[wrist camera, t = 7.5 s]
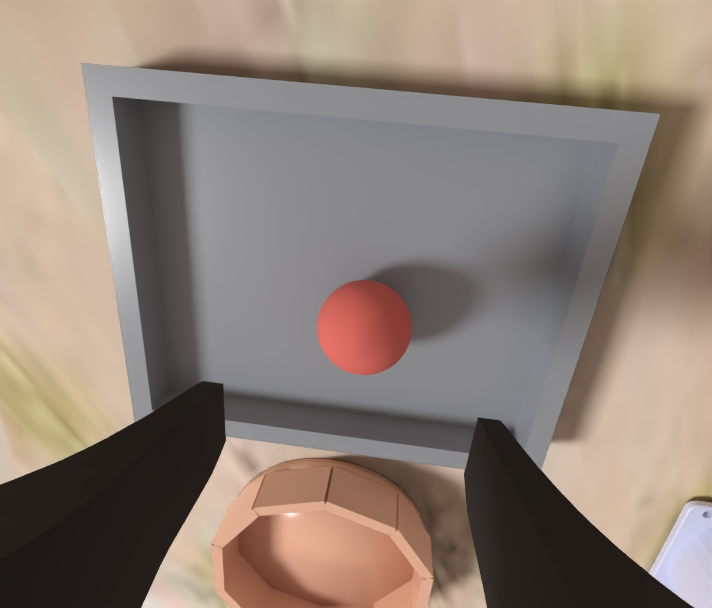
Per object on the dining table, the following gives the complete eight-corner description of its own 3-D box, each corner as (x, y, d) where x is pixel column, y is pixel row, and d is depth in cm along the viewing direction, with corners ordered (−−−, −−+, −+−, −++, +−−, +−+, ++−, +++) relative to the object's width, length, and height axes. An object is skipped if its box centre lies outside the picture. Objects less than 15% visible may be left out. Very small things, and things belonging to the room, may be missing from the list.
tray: (624, 115, 16) (660, 113, 14) (524, 443, 23) (537, 479, 20) (123, 70, 18) (81, 62, 15) (160, 394, 24) (135, 423, 22)
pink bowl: (442, 470, 24) (447, 519, 21) (411, 613, 29) (412, 669, 26) (230, 441, 25) (206, 484, 22) (235, 586, 30) (217, 636, 27)
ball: (416, 273, 19) (421, 308, 15) (403, 351, 21) (405, 400, 17) (327, 262, 19) (311, 294, 16) (322, 341, 21) (306, 387, 17)
